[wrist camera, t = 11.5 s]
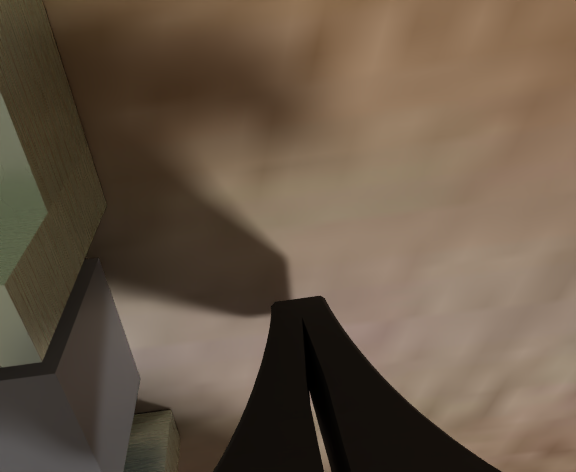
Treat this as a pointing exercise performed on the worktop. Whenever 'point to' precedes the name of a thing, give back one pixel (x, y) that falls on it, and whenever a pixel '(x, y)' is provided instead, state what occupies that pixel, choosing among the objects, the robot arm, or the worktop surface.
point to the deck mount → (50, 210)
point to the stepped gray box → (73, 390)
